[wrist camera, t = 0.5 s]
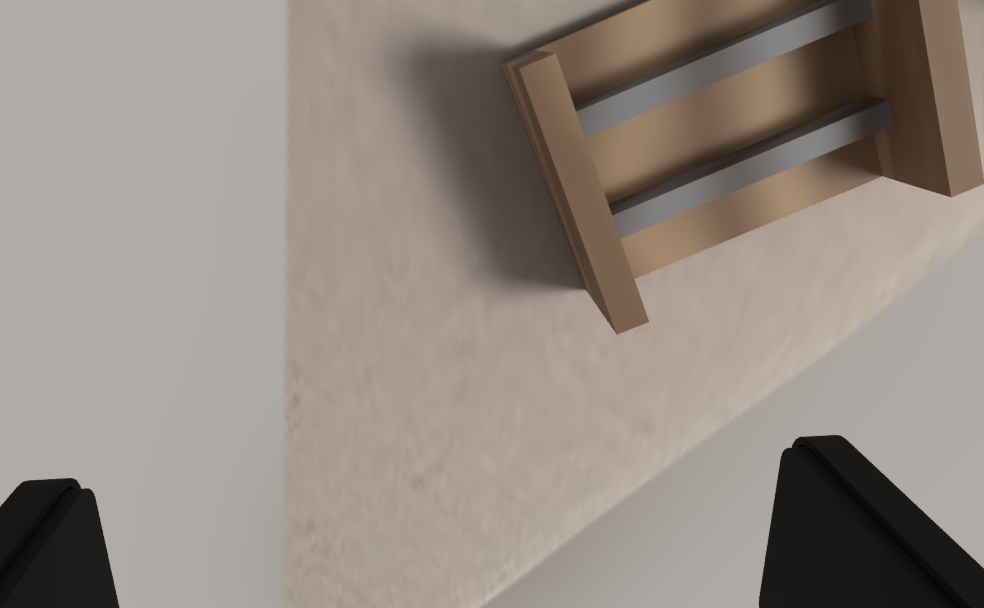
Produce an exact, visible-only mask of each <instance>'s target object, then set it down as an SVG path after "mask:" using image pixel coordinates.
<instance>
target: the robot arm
mask: <svg viewBox="0 0 984 608" xmlns="http://www.w3.org/2000/svg"><path fill="white" fill-rule="evenodd" d="M0 608H119V604H118V600H117V595H116V590H115V586H114V581H113V576H112V572H111V567H110V563H109V558H108V553H107V549H106V544H105V540H104V536H103V530H102V526H101V522H100V517H99V512H98V507H97V503H96V499H95V496H94V493H93V492H92V490H90V489H81V487H80V485H79V483H78V482H77V480H75V479H73V478H65V479H47V480H29V481H24V482H22V483H21V484H20V485H19V486H18V487H17V488H16V489H15V490H14V492H13V493H12V494H11V495H10V496H9V497H8V498H7V500H6V501H5V502H4V503H3V504H2V505H1V507H0ZM759 608H984V568H982V567H981V566H980V565H979V564H978V563H977V562H976V561H975V560H974V559H973V558H972V557H971V556H970V555H969V554H968V553H967V552H966V551H964V550H963V549H962V548H961V547H960V546H959V545H958V544H957V543H956V542H955V541H954V540H953V539H952V538H951V537H949V536H948V535H947V534H946V533H945V532H944V531H943V530H942V529H941V528H940V527H939V526H938V525H937V524H936V523H935V522H934V521H933V520H931V519H930V518H929V517H928V516H927V515H926V514H925V513H924V512H923V511H922V510H921V509H920V508H919V507H918V506H917V505H915V504H914V503H913V502H912V501H911V500H910V499H909V498H908V497H907V496H906V495H905V494H904V493H903V492H902V491H901V490H900V489H898V488H897V487H896V486H895V485H894V484H893V483H892V482H891V481H890V480H889V479H888V478H887V477H886V476H885V475H884V474H882V473H881V472H880V471H879V470H878V469H877V468H876V467H875V466H874V465H873V464H872V463H871V462H870V461H869V460H867V458H865V457H864V456H863V455H862V454H861V453H860V452H859V451H858V450H857V449H856V448H855V447H854V446H853V445H852V444H850V443H849V442H848V441H847V440H846V439H845V438H843V437H842V436H839V435H828V436H811V437H799V438H798V439H796V440H795V442H794V443H793V445H792V448H787V449H785V450H784V451H783V453H782V456H781V460H780V467H779V473H778V480H777V486H776V493H775V499H774V506H773V512H772V519H771V525H770V532H769V538H768V545H767V551H766V557H765V564H764V570H763V577H762V584H761V590H760V596H759Z"/></svg>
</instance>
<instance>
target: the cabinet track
mask: <svg viewBox="0 0 984 608" xmlns="http://www.w3.org/2000/svg"><path fill="white" fill-rule="evenodd" d="M501 64H502V67H503V70H504V72H505V75H506V78H507V80H508V83H509V86H510V88H511V91H512V94H513V96H514V99H515V102H516V104H517V107H518V110H519V112H520V115H521V118H522V120H523V123H524V126H525V128H526V131H527V134H528V136H529V139H530V142H531V144H532V147H533V150H534V152H535V155H536V158H537V160H538V163H539V166H540V168H541V171H542V174H543V176H544V179H545V182H546V184H547V187H548V190H549V192H550V195H551V198H552V200H553V203H554V206H555V208H556V211H557V214H558V216H559V219H560V222H561V224H562V227H563V229H564V232H565V235H566V237H567V240H568V243H569V245H570V248H571V251H572V253H573V256H574V259H575V261H576V264H577V267H578V269H579V272H580V275H581V277H582V280H583V283H584V285H585V288H586V290H587V292H588V293H589V295H590V296H591V298H592V299H593V301H594V302H595V304H596V305H597V306H598V308H599V309H600V311H601V312H602V314H603V315H604V317H605V318H606V319H607V321H608V322H609V324H610V325H611V327H612V328H613V330H614V331H615V332H616V334H620V333H622V332H625V331H627V330H630V329H632V328H635V327H637V326H639V325H642V324H644V323H647V322H649V320H648V318H647V315H646V312H645V309H644V306H643V303H642V300H641V297H640V295H639V292H638V289H637V286H636V283H635V280H634V279H635V278H637V277H640V276H642V275H645V274H647V273H649V272H652V271H654V270H657V269H659V268H662V267H664V266H666V265H669V264H671V263H674V262H676V261H678V260H681V259H683V258H686V257H688V256H691V255H693V254H695V253H698V252H700V251H703V250H705V249H707V248H710V247H712V246H715V245H717V244H720V243H722V242H724V241H727V240H729V239H732V238H734V237H736V236H739V235H741V234H744V233H746V232H749V231H751V230H753V229H756V228H758V227H761V226H763V225H766V224H768V223H770V222H773V221H775V220H778V219H780V218H782V217H785V216H787V215H790V214H792V213H795V212H797V211H799V210H802V209H804V208H807V207H809V206H811V205H814V204H816V203H819V202H821V201H824V200H826V199H828V198H831V197H833V196H836V195H838V194H840V193H843V192H845V191H848V190H850V189H853V188H855V187H857V186H860V185H862V184H865V183H867V182H870V181H872V180H874V179H877V178H879V177H882V176H883V177H887V178H890V179H893V180H896V181H900V182H903V183H906V184H910V185H913V186H916V187H919V188H923V189H926V190H929V191H932V192H936V193H939V194H942V195H946V196H949V197H953V196H956V195H958V194H961V193H963V192H965V191H968V190H970V189H973V188H975V187H978V186H980V185H982V184H984V178H983V171H982V164H981V158H980V151H979V144H978V137H977V131H976V124H975V117H974V110H973V103H972V97H971V90H970V83H969V76H968V70H967V63H966V56H965V49H964V42H963V36H962V29H961V22H960V15H959V9H958V2H957V0H646V1H644V2H641V3H639V4H637V5H634V6H632V7H630V8H627V9H625V10H623V11H620V12H618V13H616V14H613V15H611V16H609V17H606V18H604V19H602V20H599V21H597V22H595V23H592V24H590V25H588V26H585V27H583V28H581V29H578V30H576V31H574V32H571V33H569V34H567V35H564V36H562V37H560V38H557V39H555V40H553V41H550V42H548V43H546V44H543V45H541V46H538V47H536V48H534V49H531V50H529V51H527V52H524V53H522V54H520V55H517V56H515V57H513V58H510V59H508V60H506V61H503V62H501Z"/></svg>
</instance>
